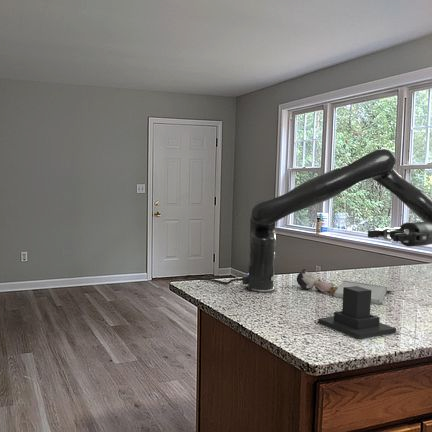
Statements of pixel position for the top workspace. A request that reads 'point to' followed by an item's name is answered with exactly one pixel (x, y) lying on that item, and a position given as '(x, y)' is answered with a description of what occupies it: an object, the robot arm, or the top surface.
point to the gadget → (376, 292)
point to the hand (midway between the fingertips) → (381, 235)
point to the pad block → (356, 302)
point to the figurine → (314, 282)
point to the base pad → (357, 325)
